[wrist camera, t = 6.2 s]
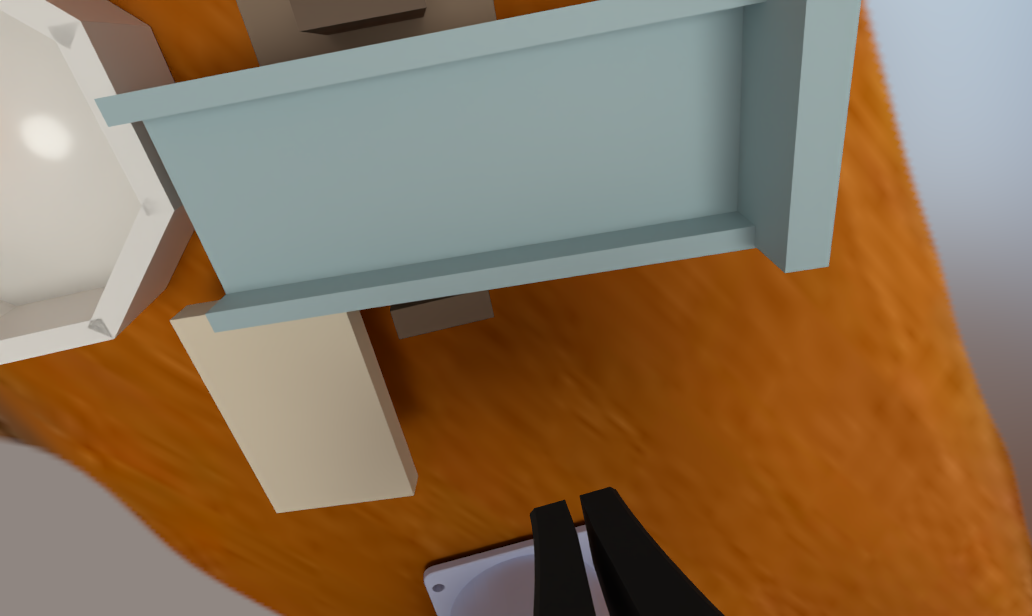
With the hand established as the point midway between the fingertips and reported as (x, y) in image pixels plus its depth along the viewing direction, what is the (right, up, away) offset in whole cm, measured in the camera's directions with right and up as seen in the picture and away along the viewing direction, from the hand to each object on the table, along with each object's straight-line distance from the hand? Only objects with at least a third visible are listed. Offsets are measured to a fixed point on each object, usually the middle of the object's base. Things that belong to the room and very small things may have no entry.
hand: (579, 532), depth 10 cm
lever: (-3, +5, +3) cm, 6 cm away
